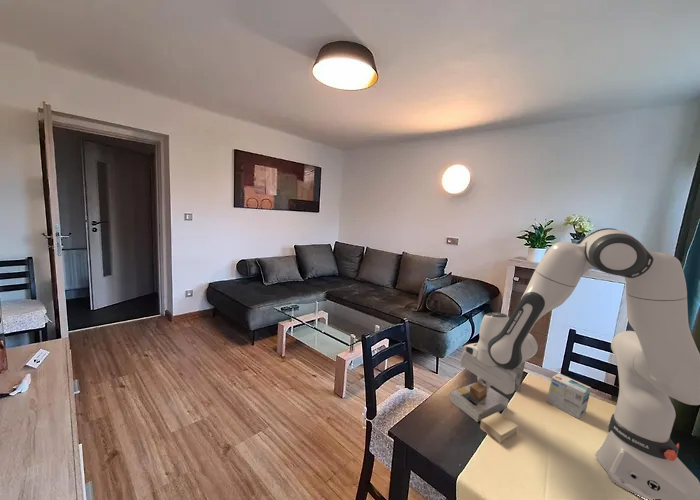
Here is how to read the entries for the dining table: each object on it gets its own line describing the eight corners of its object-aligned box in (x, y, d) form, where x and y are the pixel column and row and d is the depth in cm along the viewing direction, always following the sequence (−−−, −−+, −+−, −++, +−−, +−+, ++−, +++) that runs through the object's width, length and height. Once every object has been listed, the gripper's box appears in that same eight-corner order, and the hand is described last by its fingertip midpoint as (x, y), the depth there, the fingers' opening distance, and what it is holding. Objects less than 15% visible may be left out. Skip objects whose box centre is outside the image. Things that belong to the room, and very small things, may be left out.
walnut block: (486, 397, 105) (486, 387, 104) (479, 401, 103) (479, 392, 102) (477, 390, 109) (477, 381, 108) (469, 395, 107) (469, 386, 106)
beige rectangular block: (516, 434, 94) (518, 426, 93) (499, 443, 89) (501, 435, 89) (496, 419, 100) (497, 411, 99) (479, 427, 95) (481, 419, 95)
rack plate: (507, 408, 106) (508, 399, 106) (477, 422, 98) (479, 412, 97) (478, 388, 116) (479, 380, 116) (449, 400, 108) (450, 391, 107)
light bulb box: (585, 413, 107) (592, 387, 105) (579, 420, 103) (585, 392, 101) (553, 396, 115) (558, 371, 114) (545, 402, 112) (551, 376, 110)
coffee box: (504, 375, 128) (510, 341, 125) (520, 381, 124) (527, 346, 122) (501, 385, 120) (508, 349, 117) (519, 392, 116) (526, 355, 114)
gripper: (522, 368, 98) (515, 405, 100) (471, 341, 115) (466, 373, 117) (511, 372, 95) (504, 410, 97) (460, 344, 112) (455, 376, 114)
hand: (483, 389), depth 107 cm, fingers closed
